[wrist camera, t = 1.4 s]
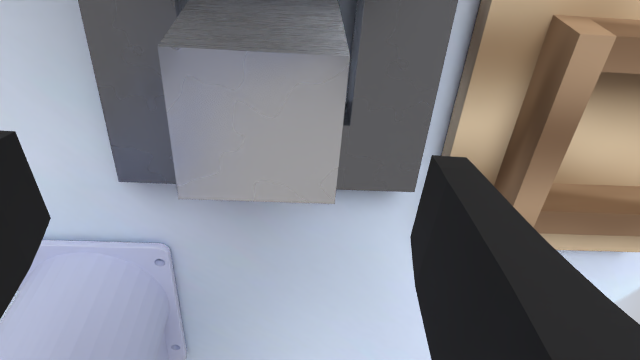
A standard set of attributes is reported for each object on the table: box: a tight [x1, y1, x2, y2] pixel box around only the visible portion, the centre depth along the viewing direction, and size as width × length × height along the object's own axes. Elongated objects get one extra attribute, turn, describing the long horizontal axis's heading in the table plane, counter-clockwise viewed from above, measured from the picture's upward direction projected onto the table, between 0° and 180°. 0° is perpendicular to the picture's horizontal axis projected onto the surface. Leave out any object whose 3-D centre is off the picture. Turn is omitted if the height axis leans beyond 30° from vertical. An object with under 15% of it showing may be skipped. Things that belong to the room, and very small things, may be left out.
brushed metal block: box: [158, 0, 350, 204], centre depth 14 cm, size 4×4×8 cm
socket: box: [78, 0, 458, 192], centre depth 17 cm, size 12×12×2 cm
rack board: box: [441, 0, 640, 252], centre depth 18 cm, size 18×11×3 cm, turn 176°
